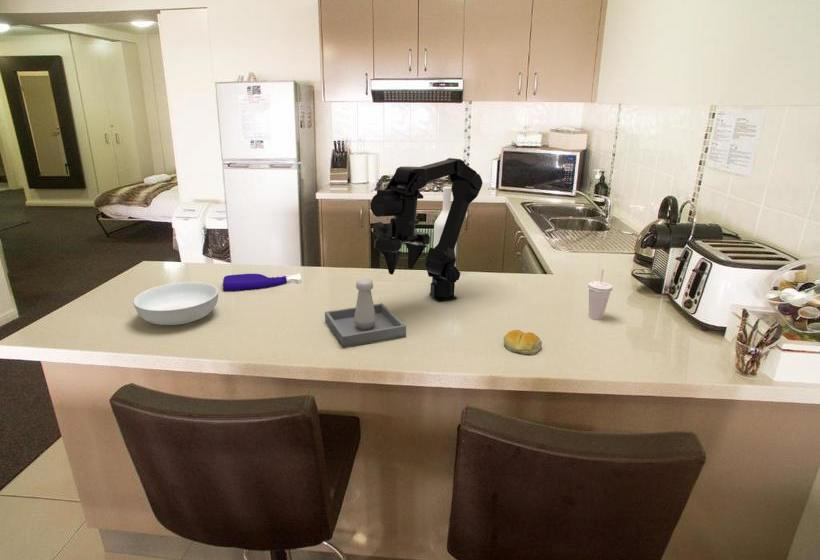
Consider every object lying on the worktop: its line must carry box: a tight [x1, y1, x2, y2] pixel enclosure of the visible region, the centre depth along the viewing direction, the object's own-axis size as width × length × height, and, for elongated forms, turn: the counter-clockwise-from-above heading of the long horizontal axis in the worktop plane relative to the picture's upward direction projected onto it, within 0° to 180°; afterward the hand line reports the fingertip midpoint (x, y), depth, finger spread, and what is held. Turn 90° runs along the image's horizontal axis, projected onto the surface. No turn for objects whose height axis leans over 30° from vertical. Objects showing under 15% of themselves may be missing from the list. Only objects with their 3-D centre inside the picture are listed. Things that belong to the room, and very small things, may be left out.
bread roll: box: [503, 329, 543, 355], centre depth 121 cm, size 8×9×4 cm
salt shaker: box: [354, 278, 376, 330], centre depth 127 cm, size 6×6×13 cm
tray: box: [324, 302, 407, 349], centre depth 129 cm, size 17×17×3 cm
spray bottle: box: [222, 272, 303, 292], centre depth 161 cm, size 3×11×24 cm
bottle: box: [432, 186, 458, 268], centre depth 171 cm, size 8×8×30 cm
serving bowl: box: [132, 281, 219, 326], centre depth 134 cm, size 21×21×7 cm
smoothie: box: [587, 268, 613, 321], centre depth 137 cm, size 6×6×14 cm
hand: (400, 271), depth 136 cm, fingers open, 9 cm apart
